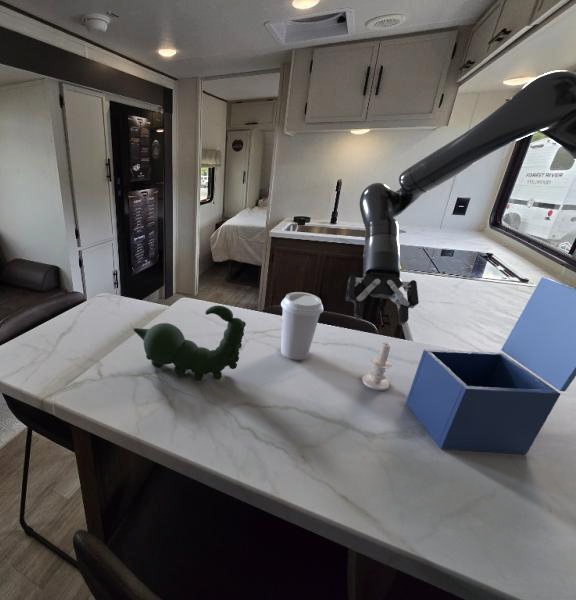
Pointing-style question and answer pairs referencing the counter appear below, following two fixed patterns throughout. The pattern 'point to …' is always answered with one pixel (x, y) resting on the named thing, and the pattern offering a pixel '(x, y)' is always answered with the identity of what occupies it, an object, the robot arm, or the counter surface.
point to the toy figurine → (194, 347)
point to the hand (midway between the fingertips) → (380, 321)
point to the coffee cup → (299, 323)
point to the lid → (547, 334)
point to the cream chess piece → (378, 370)
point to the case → (479, 401)
